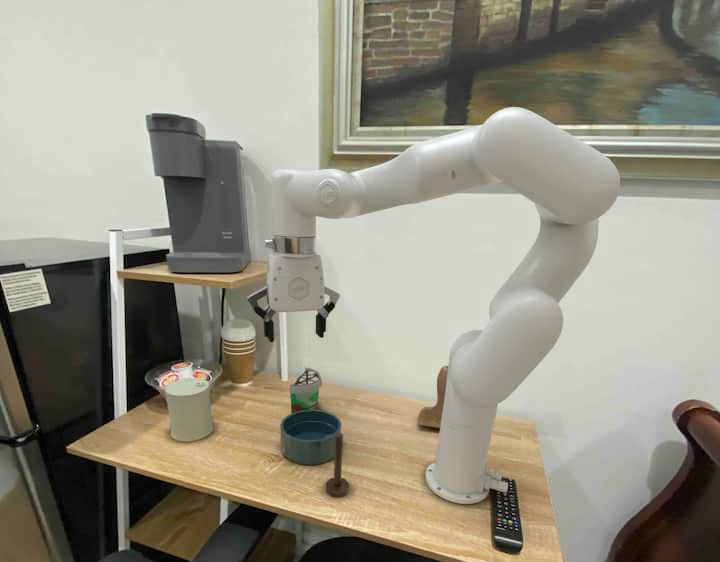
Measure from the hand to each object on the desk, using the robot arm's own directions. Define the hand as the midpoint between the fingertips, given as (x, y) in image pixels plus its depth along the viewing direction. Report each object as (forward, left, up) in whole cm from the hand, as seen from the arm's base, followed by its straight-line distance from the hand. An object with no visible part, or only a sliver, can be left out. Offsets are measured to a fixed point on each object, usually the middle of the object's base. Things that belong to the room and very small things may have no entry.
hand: (295, 337), depth 75 cm
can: (+26, +2, -27) cm, 38 cm away
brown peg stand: (-13, +6, -27) cm, 30 cm away
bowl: (-2, -4, -27) cm, 27 cm away
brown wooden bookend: (-28, -29, -27) cm, 48 cm away
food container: (+6, -18, -27) cm, 33 cm away
